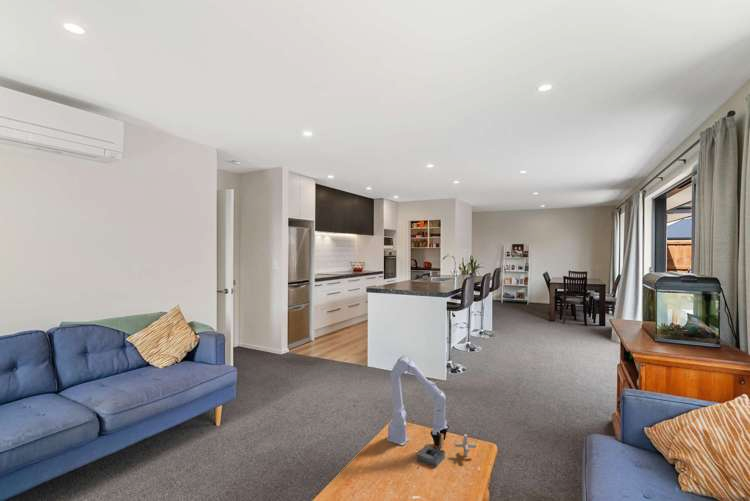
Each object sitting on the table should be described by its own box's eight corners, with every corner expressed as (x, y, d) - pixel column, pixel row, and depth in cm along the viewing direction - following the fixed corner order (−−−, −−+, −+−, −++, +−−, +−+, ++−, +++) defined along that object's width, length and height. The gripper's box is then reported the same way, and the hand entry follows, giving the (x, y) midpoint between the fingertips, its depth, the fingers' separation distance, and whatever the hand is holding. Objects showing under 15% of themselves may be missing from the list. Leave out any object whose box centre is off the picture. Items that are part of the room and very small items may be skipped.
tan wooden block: (435, 446, 182) (435, 434, 182) (438, 443, 185) (438, 432, 185) (441, 448, 181) (441, 436, 181) (443, 445, 183) (443, 434, 183)
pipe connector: (474, 450, 178) (474, 430, 179) (477, 462, 169) (477, 441, 169) (453, 449, 179) (453, 429, 180) (456, 460, 170) (456, 439, 170)
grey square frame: (417, 460, 170) (417, 454, 170) (426, 450, 178) (426, 444, 178) (436, 467, 164) (436, 460, 164) (444, 457, 173) (444, 450, 173)
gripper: (441, 424, 175) (441, 451, 174) (452, 413, 187) (452, 439, 186) (428, 420, 178) (428, 447, 178) (439, 409, 190) (439, 435, 190)
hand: (439, 442), depth 183 cm, fingers open, 7 cm apart
